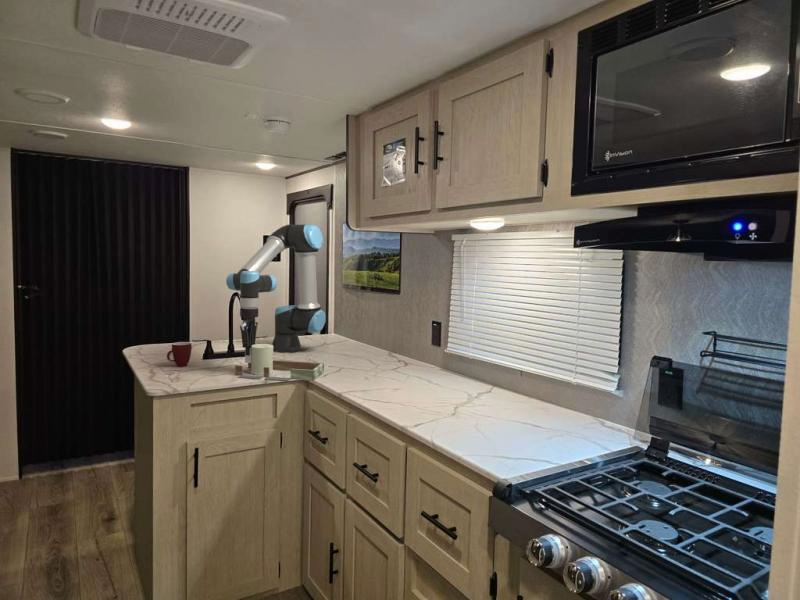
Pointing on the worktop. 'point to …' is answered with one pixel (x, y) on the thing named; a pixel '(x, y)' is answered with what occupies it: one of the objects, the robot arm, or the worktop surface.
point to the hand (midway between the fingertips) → (248, 362)
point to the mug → (180, 353)
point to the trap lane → (292, 369)
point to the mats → (265, 378)
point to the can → (261, 358)
